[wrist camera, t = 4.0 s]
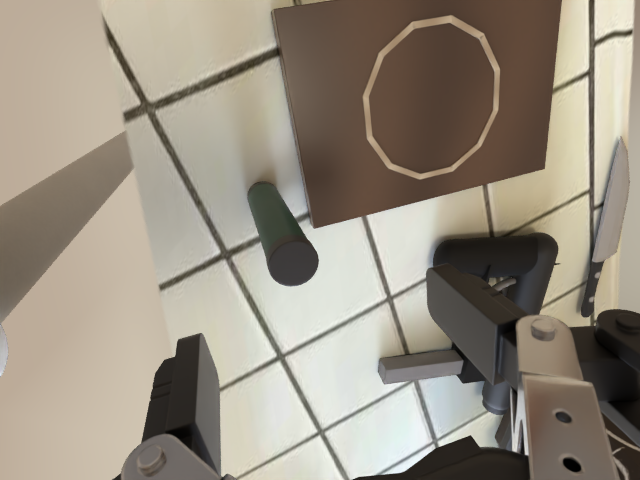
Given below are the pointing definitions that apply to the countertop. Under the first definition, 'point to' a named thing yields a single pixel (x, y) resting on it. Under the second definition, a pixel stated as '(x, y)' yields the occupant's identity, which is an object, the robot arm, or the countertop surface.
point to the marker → (281, 237)
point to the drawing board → (414, 97)
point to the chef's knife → (608, 224)
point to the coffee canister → (631, 460)
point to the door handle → (525, 290)
